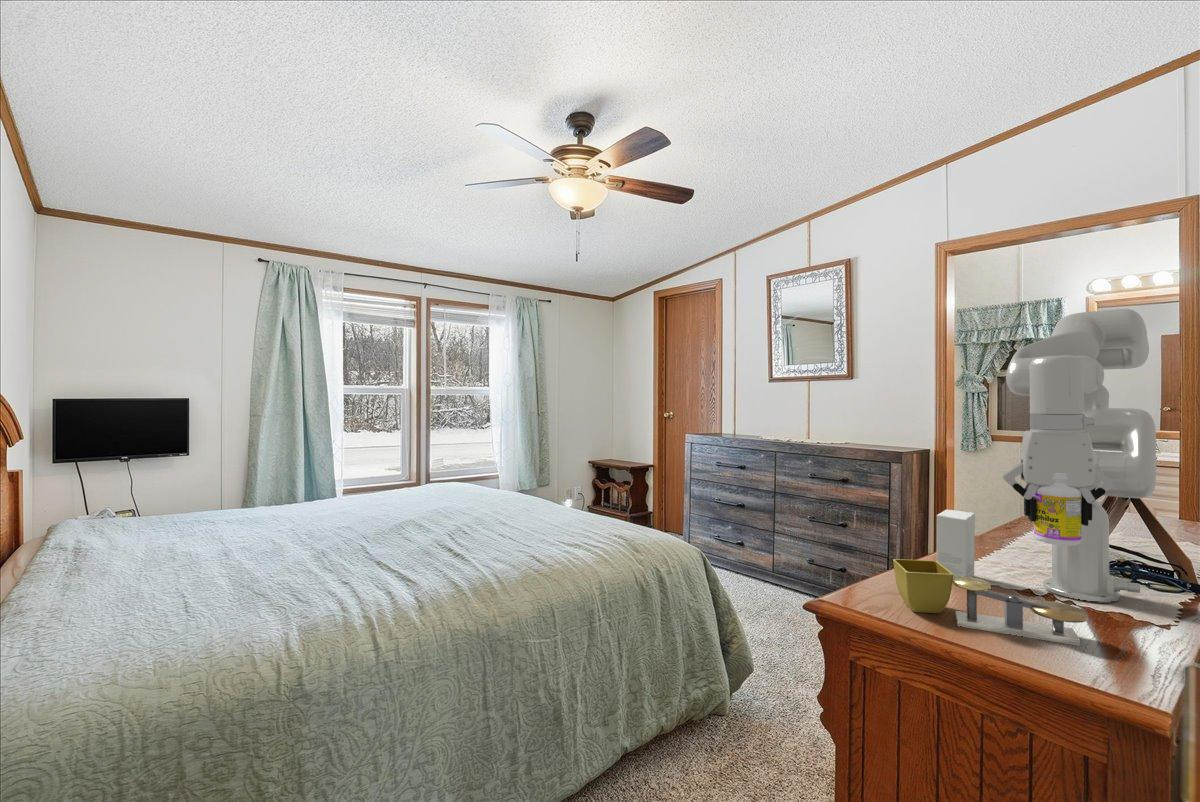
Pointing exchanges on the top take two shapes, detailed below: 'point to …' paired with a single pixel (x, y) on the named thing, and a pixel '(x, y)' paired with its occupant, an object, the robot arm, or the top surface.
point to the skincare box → (956, 542)
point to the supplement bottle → (1058, 513)
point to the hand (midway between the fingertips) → (1057, 521)
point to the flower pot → (923, 584)
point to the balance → (1018, 615)
